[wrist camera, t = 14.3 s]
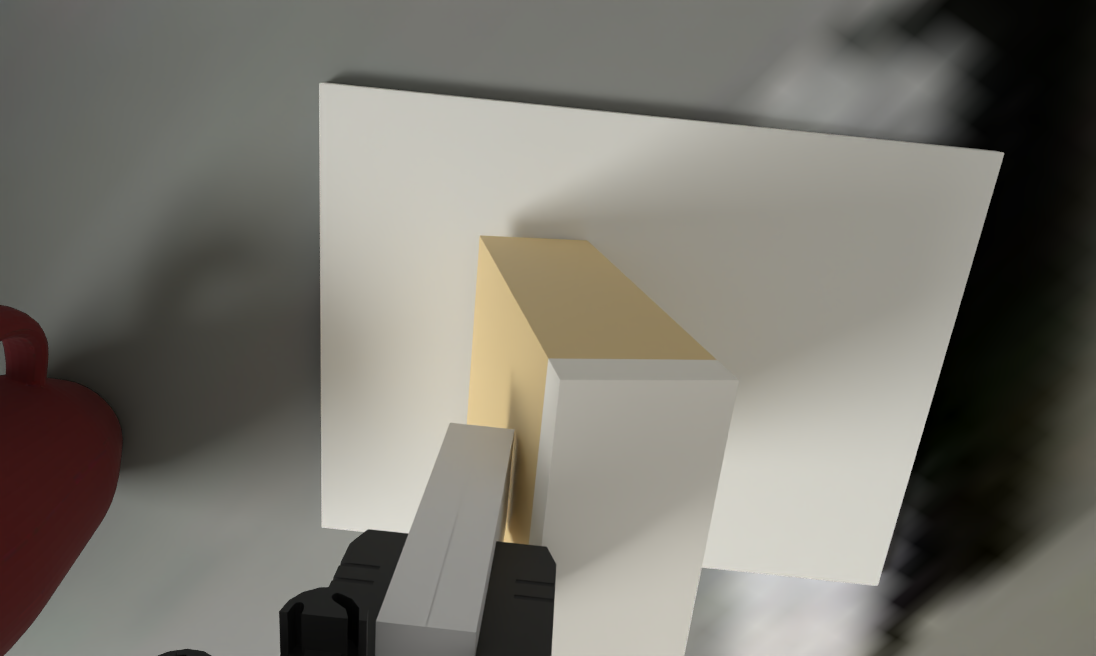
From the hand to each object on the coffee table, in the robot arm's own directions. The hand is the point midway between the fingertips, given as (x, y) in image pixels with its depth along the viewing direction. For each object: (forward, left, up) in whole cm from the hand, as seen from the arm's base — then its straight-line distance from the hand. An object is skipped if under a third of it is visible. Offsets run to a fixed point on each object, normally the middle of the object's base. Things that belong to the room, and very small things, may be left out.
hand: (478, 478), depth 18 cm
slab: (0, 0, -8) cm, 8 cm away
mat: (+4, 0, -9) cm, 10 cm away
